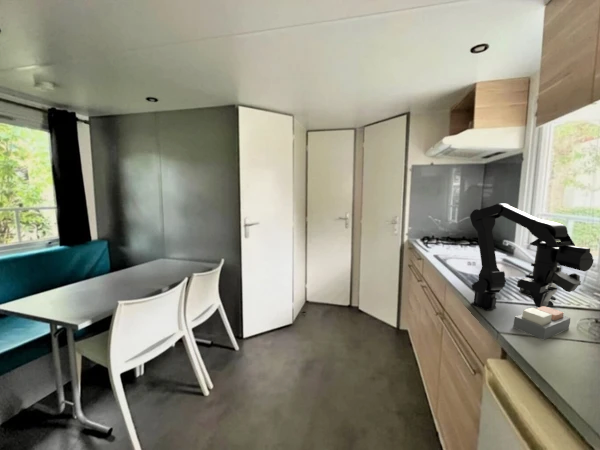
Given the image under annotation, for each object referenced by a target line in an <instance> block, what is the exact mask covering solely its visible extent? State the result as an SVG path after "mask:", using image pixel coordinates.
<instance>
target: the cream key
mask: <svg viewBox="0 0 600 450" xmlns="http://www.w3.org/2000/svg"><path fill="white" fill-rule="evenodd" d="M522 314H523V316H522V318H524V319H527V320H529V321H532V322H534V323H537V324H540V325H542V326H544V325H546V324H549V323H551V317H552V314H549V313H546V312H544V311H541V310H538V309H536V308H535V307H529V308H526V309H523V311H522Z"/></svg>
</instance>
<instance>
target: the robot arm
mask: <svg viewBox="0 0 600 450" xmlns="http://www.w3.org/2000/svg"><path fill="white" fill-rule="evenodd" d="M501 217H504V218H505V219H507V220H509V221H511V222H513V223H516V224H517V225H519V226H520V227H521V226H522V227H523V228H526V229H527V230H528V231H529V232H530V234H531V235H533V236H534V237H535V238H536V239H535V240H534V241H532V242H530V243H529V245H530V246H535V247H536V251H535V257H534V262H531V264H530V266H531V267H533V268H532V273H531V274H529V276H528V277H525V278H521V279H519V280H517V283H516V287H518V288H519V289H520V288H523V289H526V290H529V291H530V293H531V294H530V296H531V298H532V300H533V303H534V306H535V307H536V308H539V307H542V304H543V302H544V301H545V299H546V297H547V296H548V294H549V293H550V292H552V291H555V290H558V288H554V287H552V286H553V285H551V284H552V283H554V284H555V285H556V286H558V287H560V288H561V289H562V290H563V291H566V292H568V293H571V292H574V291H575V290H576V289H577V288H579V286H581V283H582V281H581V276H580V275H579V274H578V273H575V272H573V273H570V274H568V273H565V272H562V268H561V267H566V268H569V269H572V270H576V271H582V272H588V271H589V270H590V269H591V268H592V267H593V264H594V258H593V254H592V253H591V248H589V247H583V246H582V247H581V246H576V245H575V243H574V241H573V239H572V238H571V236H570V234H569V233H568V232H569V231H568V227H566V225H565V224H562V223H559V222H556V221H553V220H552V221H550V220H546V219H541V218H538V217H536V216H533V215H531V214H530V213H529V214H528V213H527V212H525V211H523V210H520V209H518V208H516V207H513V206H511V205H510V204H509V203H500V202H499V203H496V204H493V205H491V206H487V207H483V208H478V209H473V210H472V212H471V213H470V215H469V219H470V221H471V226H472V227H473V228H474V230H475V231H476V232H477V238H478V245H479V247H478V248H479V254H480V261H481V269H480V271H479V273H478V280H477V281H475V282H474V283H472V284H471V289H472V291H474V297H473V298H474V299H473V301H471V302H470V303H471V305H473V306H475V307H478V308H480V309H482V310H485V311H489V310H493V309H496V308H497V297H496V295H497V294H498V293H500V292H501V290H502V289H503V288H505V286H506V283H507V279H506V274H505V271H501V270H500V269H499V268H498V265H497V257H496V256H497V255H496V250H495V249H496V248H495V244H494V236H493V229H494V227H495V225H496V220H497V219H499V218H501Z"/></svg>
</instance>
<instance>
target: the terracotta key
mask: <svg viewBox="0 0 600 450" xmlns="http://www.w3.org/2000/svg"><path fill="white" fill-rule="evenodd" d="M535 309H538V310H541V311H544V312H546V313H549V314H552V317H551V319H553V320H555V321H556V320H559V319H561V318H563V316H564V315H565V312H564V311H561V310H557V309H555V308H551V307H548V306H541V307H536V308H535Z"/></svg>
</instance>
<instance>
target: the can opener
mask: <svg viewBox="0 0 600 450" xmlns="http://www.w3.org/2000/svg"><path fill="white" fill-rule="evenodd" d="M519 291H520V292H521V293H524V294H526V295H528V294H529V295H531V293H530V291H529V290H526V289H523V288H519ZM551 300H552V301H556V300H557V298H556V297H554V295H552V296H551V298H550V301H549V303H548V305H549V306H554V302H552V301H551Z"/></svg>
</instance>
